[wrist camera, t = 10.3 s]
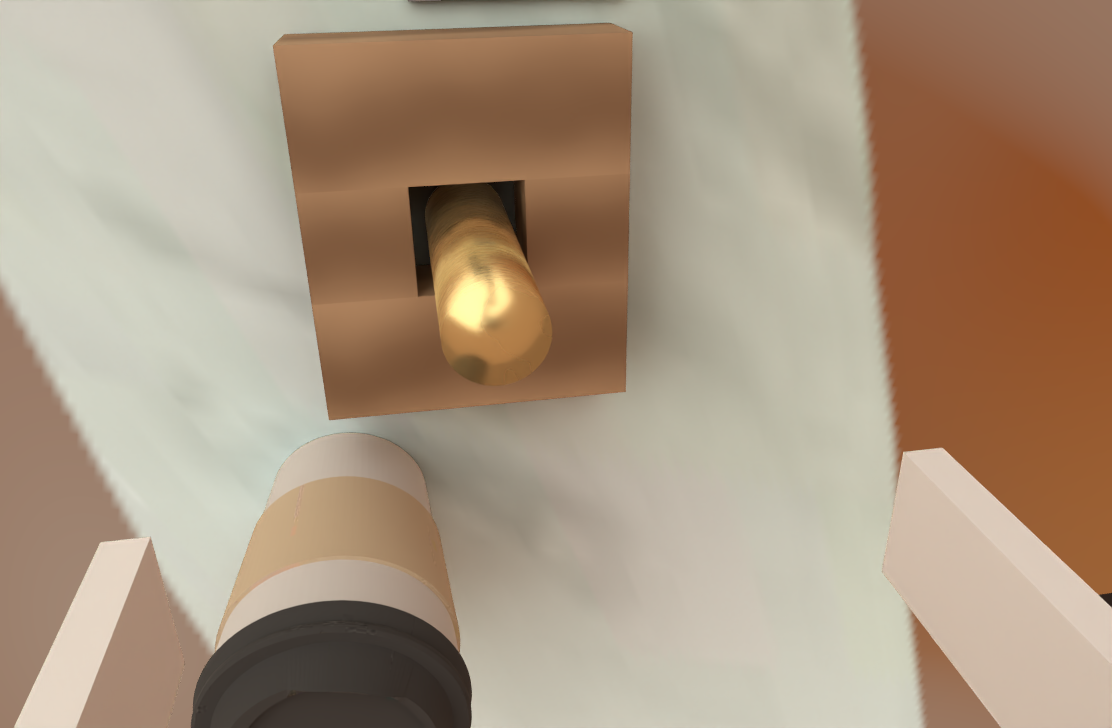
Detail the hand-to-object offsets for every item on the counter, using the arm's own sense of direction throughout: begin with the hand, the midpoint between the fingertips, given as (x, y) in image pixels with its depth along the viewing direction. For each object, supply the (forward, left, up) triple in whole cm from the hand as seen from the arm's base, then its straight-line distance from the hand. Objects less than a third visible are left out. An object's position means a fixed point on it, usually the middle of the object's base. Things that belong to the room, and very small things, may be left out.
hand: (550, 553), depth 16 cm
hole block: (0, 0, -23) cm, 23 cm away
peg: (+1, 0, -23) cm, 23 cm away
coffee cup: (+13, -6, -23) cm, 27 cm away
